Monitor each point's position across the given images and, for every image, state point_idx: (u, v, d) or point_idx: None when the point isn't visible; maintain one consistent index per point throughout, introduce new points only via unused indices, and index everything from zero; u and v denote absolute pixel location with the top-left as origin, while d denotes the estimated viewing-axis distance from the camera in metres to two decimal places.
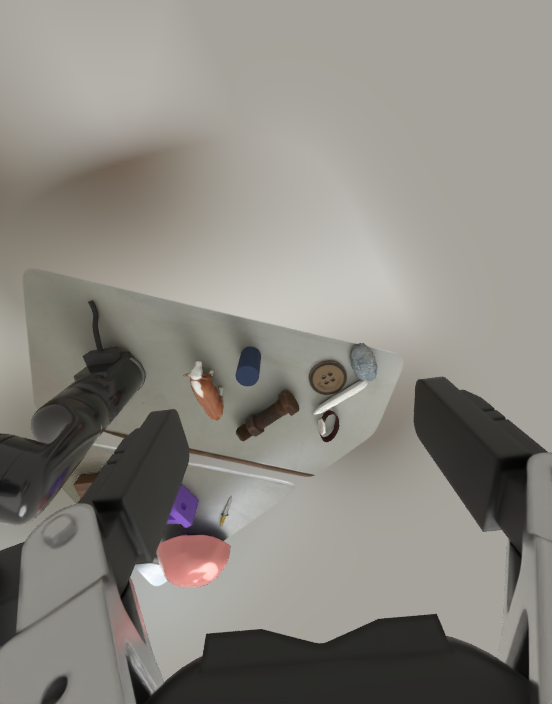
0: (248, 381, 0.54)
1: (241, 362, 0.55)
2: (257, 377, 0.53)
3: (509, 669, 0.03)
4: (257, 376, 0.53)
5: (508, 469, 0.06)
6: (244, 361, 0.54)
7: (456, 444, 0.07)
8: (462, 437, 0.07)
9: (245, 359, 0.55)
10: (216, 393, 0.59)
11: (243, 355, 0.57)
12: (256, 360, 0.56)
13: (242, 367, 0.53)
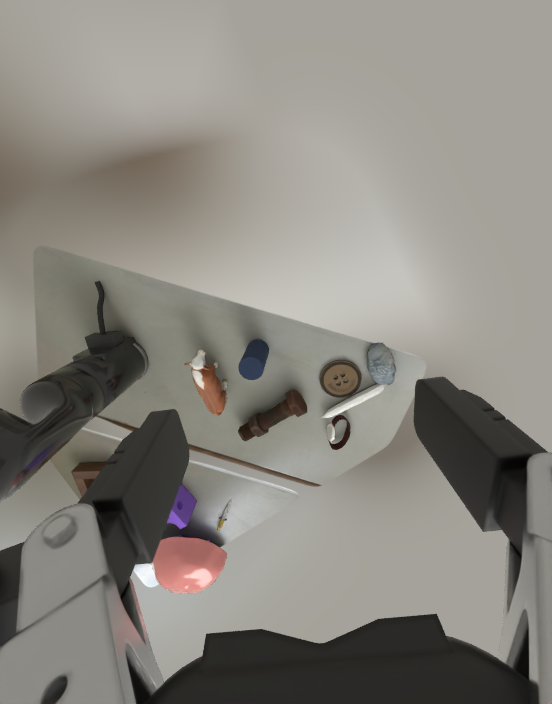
0: (251, 374, 0.50)
1: (246, 354, 0.51)
2: (261, 370, 0.49)
3: (509, 670, 0.03)
4: (261, 369, 0.49)
5: (508, 469, 0.06)
6: (249, 352, 0.50)
7: (456, 444, 0.07)
8: (462, 437, 0.07)
9: (250, 351, 0.51)
10: (218, 386, 0.55)
11: (249, 347, 0.54)
12: (262, 353, 0.52)
13: (246, 358, 0.49)
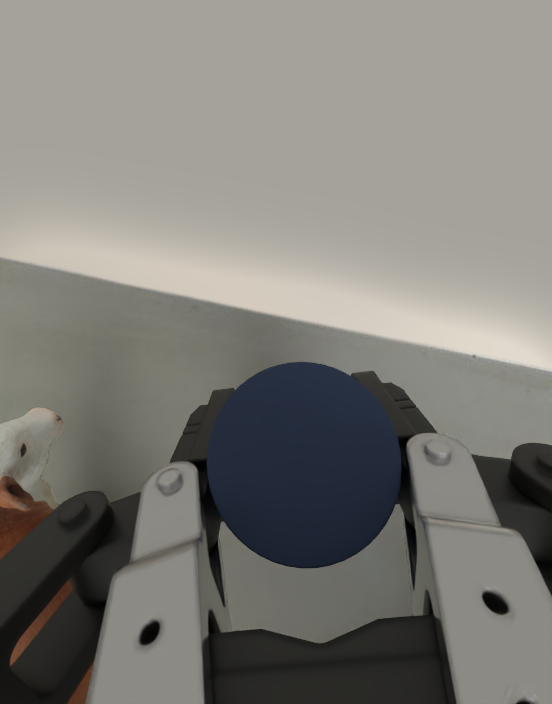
0: (310, 509, 0.06)
1: None
2: (389, 470, 0.06)
3: None
4: (389, 459, 0.06)
5: None
6: None
7: None
8: None
9: None
10: None
11: None
12: None
13: (268, 376, 0.07)
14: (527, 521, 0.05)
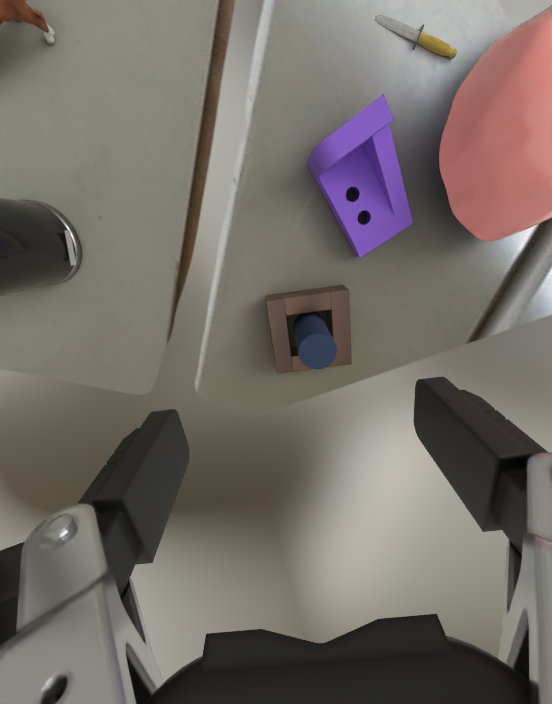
0: (314, 360, 0.32)
1: (313, 327, 0.33)
2: (331, 360, 0.32)
3: (509, 670, 0.03)
4: (332, 359, 0.32)
5: (508, 469, 0.06)
6: (319, 327, 0.33)
7: (456, 444, 0.07)
8: (462, 437, 0.07)
9: (319, 326, 0.34)
10: None
11: (311, 319, 0.36)
12: None
13: (319, 335, 0.31)
14: None
